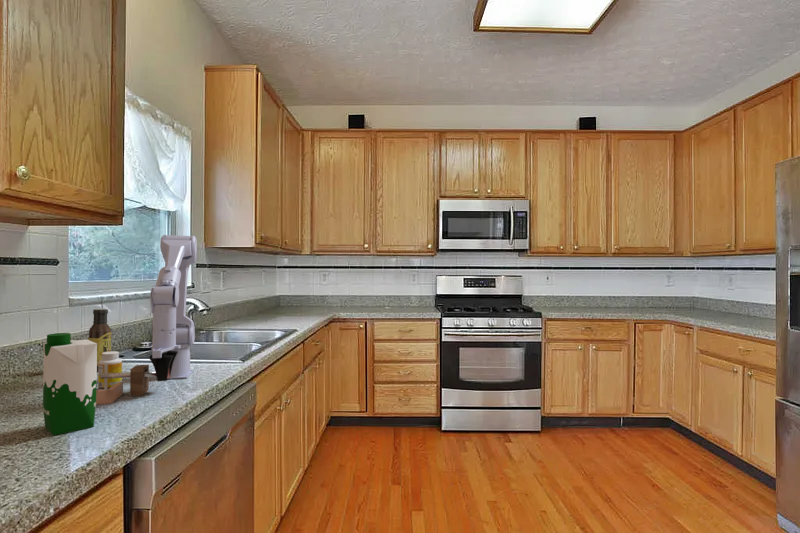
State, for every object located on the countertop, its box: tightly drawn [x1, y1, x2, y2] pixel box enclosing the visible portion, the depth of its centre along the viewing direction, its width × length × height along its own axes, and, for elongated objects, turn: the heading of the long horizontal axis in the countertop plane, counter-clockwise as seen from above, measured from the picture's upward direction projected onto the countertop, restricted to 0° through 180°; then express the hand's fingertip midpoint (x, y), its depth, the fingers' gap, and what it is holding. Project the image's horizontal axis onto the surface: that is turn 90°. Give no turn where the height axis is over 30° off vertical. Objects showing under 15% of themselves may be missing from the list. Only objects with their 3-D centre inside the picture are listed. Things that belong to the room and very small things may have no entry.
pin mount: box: [129, 364, 150, 397], centre depth 124 cm, size 5×3×7 cm, turn 13°
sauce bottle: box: [87, 308, 112, 372], centre depth 149 cm, size 6×6×20 cm
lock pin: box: [100, 368, 170, 380], centre depth 123 cm, size 2×16×2 cm, turn 104°
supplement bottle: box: [97, 350, 123, 390], centre depth 127 cm, size 6×6×10 cm
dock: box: [96, 381, 124, 405], centre depth 117 cm, size 9×10×3 cm
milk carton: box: [42, 332, 98, 436], centre depth 98 cm, size 9×9×20 cm
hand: (163, 379), depth 125 cm, fingers closed on lock pin, 2 cm apart
